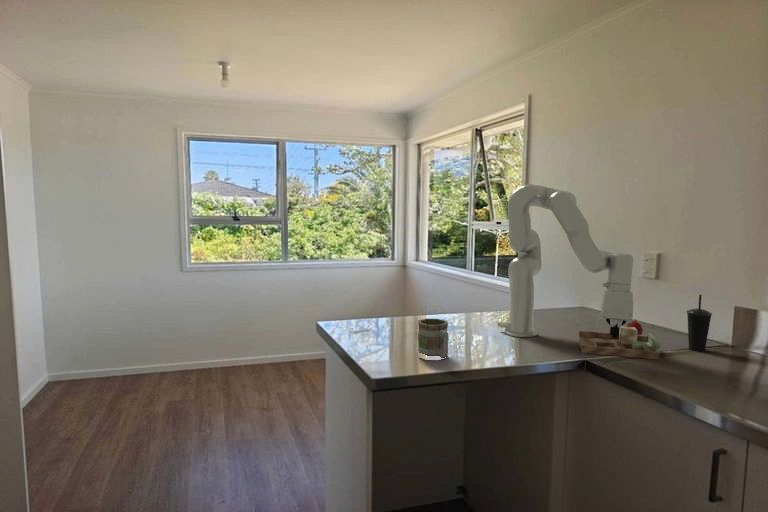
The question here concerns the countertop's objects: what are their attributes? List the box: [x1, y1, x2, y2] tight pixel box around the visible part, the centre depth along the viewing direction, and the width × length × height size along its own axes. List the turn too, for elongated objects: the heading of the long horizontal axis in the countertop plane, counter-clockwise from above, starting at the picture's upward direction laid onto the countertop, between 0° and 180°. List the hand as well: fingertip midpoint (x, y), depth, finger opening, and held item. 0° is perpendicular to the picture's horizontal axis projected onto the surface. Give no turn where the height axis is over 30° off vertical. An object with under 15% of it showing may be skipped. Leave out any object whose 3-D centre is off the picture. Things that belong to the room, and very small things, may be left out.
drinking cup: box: [686, 294, 713, 353], centre depth 167 cm, size 8×8×20 cm
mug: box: [417, 318, 450, 358], centre depth 159 cm, size 16×11×12 cm
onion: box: [625, 318, 644, 335], centre depth 182 cm, size 6×6×8 cm
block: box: [619, 325, 638, 345], centre depth 169 cm, size 5×5×5 cm
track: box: [578, 330, 661, 360], centre depth 167 cm, size 24×14×6 cm, turn 71°
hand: (614, 337), depth 170 cm, fingers closed
